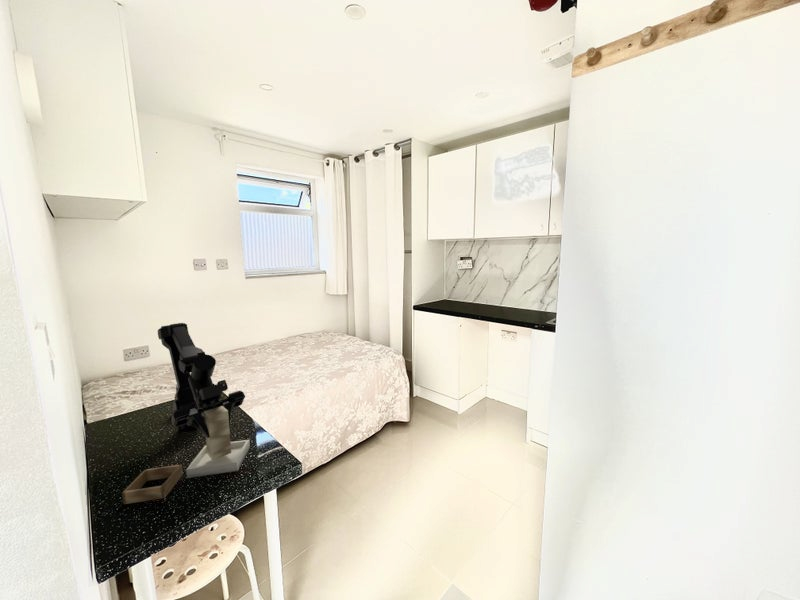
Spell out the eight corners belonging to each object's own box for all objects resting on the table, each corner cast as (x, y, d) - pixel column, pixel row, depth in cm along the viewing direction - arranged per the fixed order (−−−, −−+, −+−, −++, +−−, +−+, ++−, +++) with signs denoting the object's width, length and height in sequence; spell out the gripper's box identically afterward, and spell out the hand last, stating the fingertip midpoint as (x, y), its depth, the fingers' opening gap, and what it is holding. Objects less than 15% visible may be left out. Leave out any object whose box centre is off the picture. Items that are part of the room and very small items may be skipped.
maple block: (225, 446, 97) (222, 405, 95) (231, 452, 93) (228, 410, 92) (207, 453, 93) (203, 411, 92) (212, 460, 90) (208, 416, 88)
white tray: (250, 446, 101) (249, 439, 100) (237, 470, 89) (236, 462, 89) (205, 452, 98) (204, 445, 98) (187, 478, 87) (186, 469, 86)
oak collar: (183, 474, 88) (181, 464, 88) (164, 497, 79) (163, 486, 79) (146, 479, 87) (144, 469, 86) (123, 504, 78) (121, 493, 77)
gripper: (168, 383, 87) (184, 435, 80) (239, 365, 100) (257, 408, 94) (165, 403, 93) (180, 452, 87) (233, 383, 106) (249, 425, 100)
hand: (219, 433), depth 92 cm, fingers closed on maple block, 5 cm apart
